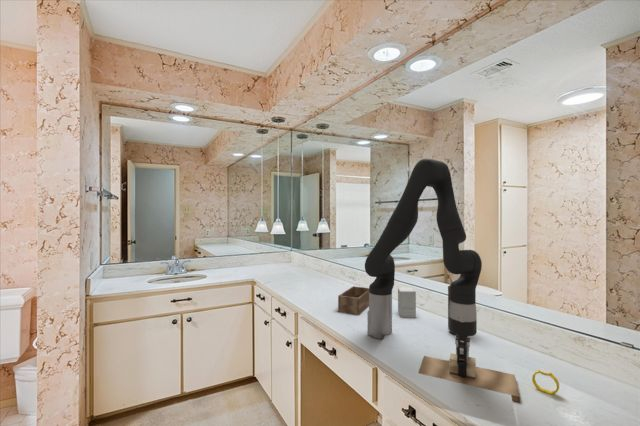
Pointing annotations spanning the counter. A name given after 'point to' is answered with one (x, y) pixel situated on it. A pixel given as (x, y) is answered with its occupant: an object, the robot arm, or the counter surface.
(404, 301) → the supplement box
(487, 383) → the board
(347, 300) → the open wooden box
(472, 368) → the block
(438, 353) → the counter surface
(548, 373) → the yellow wavy ring
